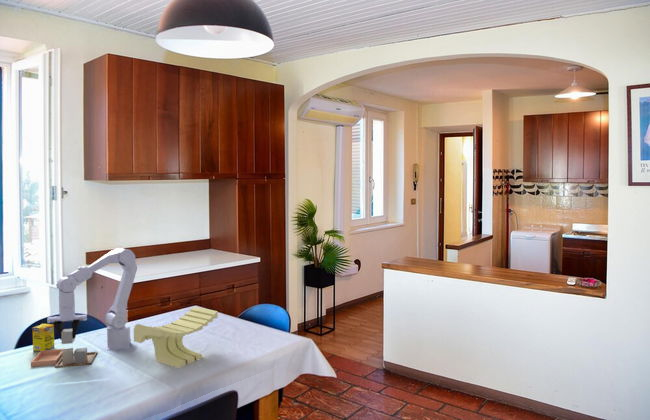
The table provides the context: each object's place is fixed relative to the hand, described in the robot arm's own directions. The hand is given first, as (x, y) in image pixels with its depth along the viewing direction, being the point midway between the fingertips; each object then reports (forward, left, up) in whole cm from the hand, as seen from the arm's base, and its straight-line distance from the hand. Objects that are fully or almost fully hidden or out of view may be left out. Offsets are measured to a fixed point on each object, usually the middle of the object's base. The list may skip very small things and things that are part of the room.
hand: (67, 338), depth 204 cm
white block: (-1, +6, -8) cm, 10 cm away
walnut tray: (-4, +4, -9) cm, 10 cm away
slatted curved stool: (-44, +12, -9) cm, 47 cm away
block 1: (0, 0, -2) cm, 2 cm away
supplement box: (+13, -13, -9) cm, 20 cm away
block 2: (-6, +7, -8) cm, 12 cm away
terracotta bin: (+7, +1, -9) cm, 11 cm away
